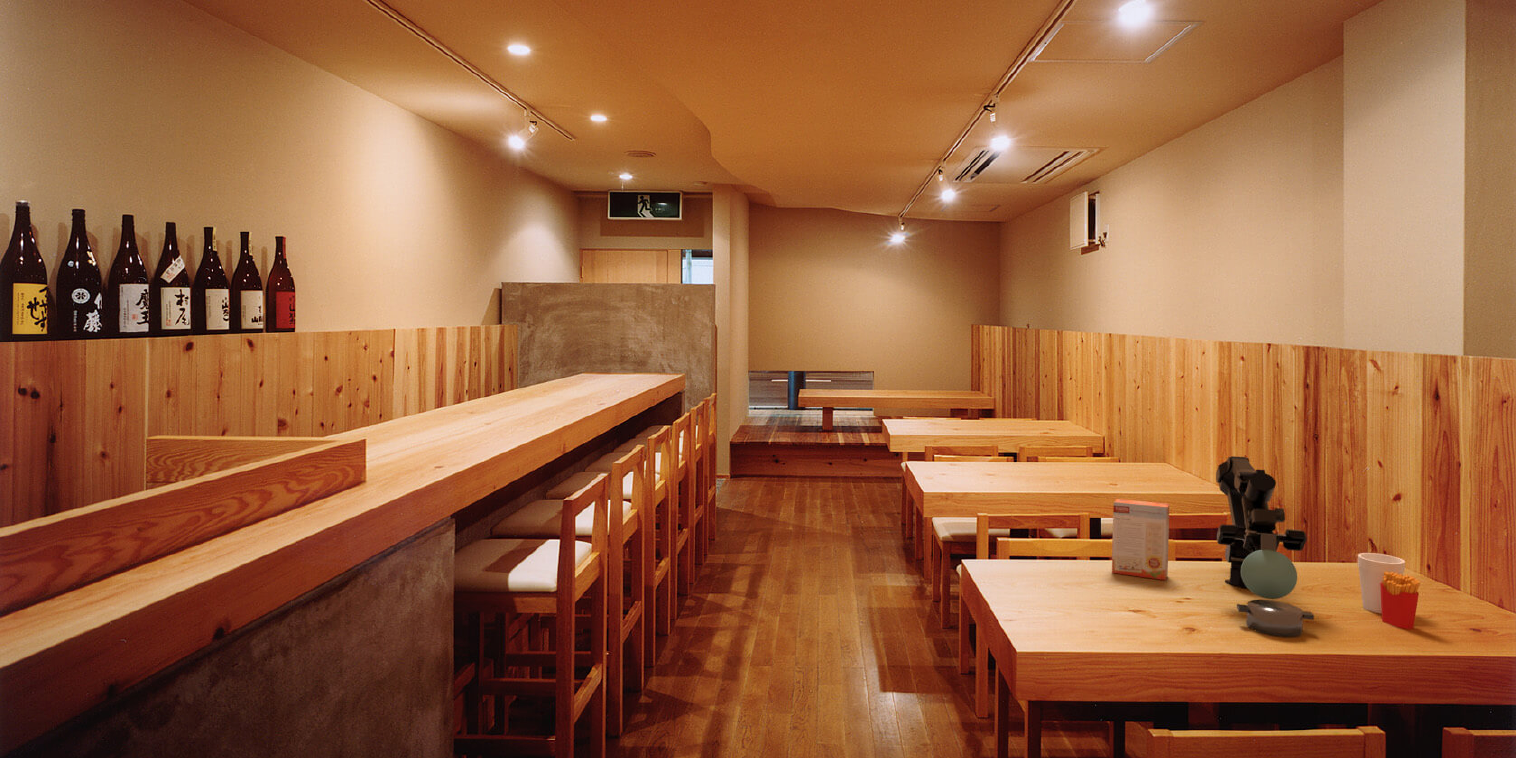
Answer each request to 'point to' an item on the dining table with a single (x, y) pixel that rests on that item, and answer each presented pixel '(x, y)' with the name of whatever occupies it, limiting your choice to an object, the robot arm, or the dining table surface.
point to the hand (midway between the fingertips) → (1265, 567)
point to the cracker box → (1140, 538)
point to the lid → (1268, 571)
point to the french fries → (1399, 599)
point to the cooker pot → (1275, 617)
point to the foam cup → (1376, 576)
